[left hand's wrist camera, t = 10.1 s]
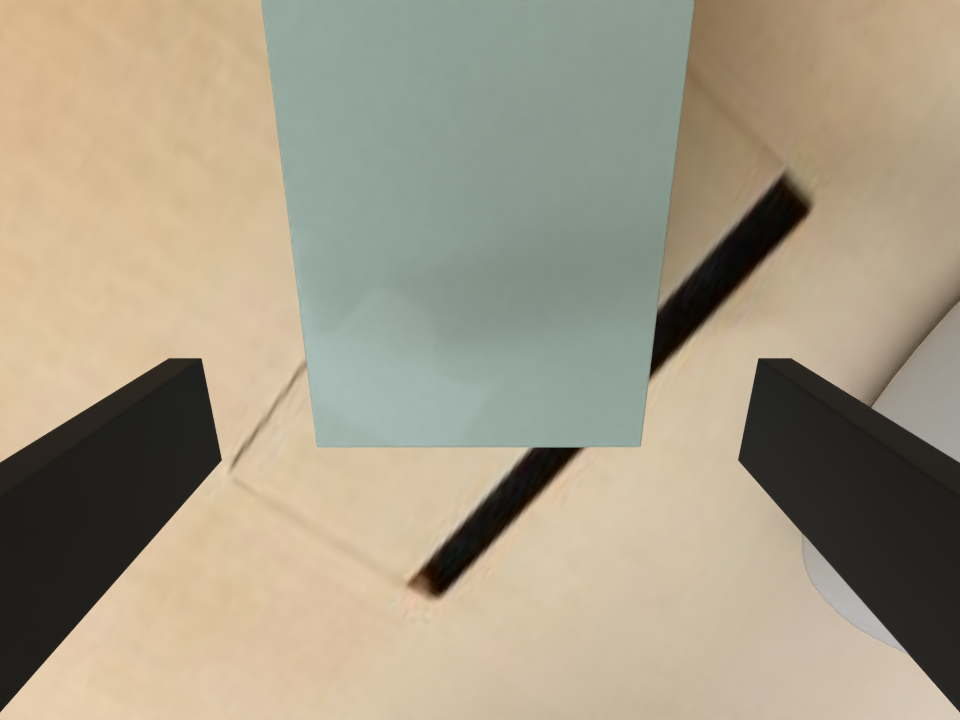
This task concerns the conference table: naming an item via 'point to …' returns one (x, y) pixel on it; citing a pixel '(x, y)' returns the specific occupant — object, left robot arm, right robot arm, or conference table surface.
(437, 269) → the cabinet
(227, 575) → the conference table surface
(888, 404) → the projector
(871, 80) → the conference table surface
